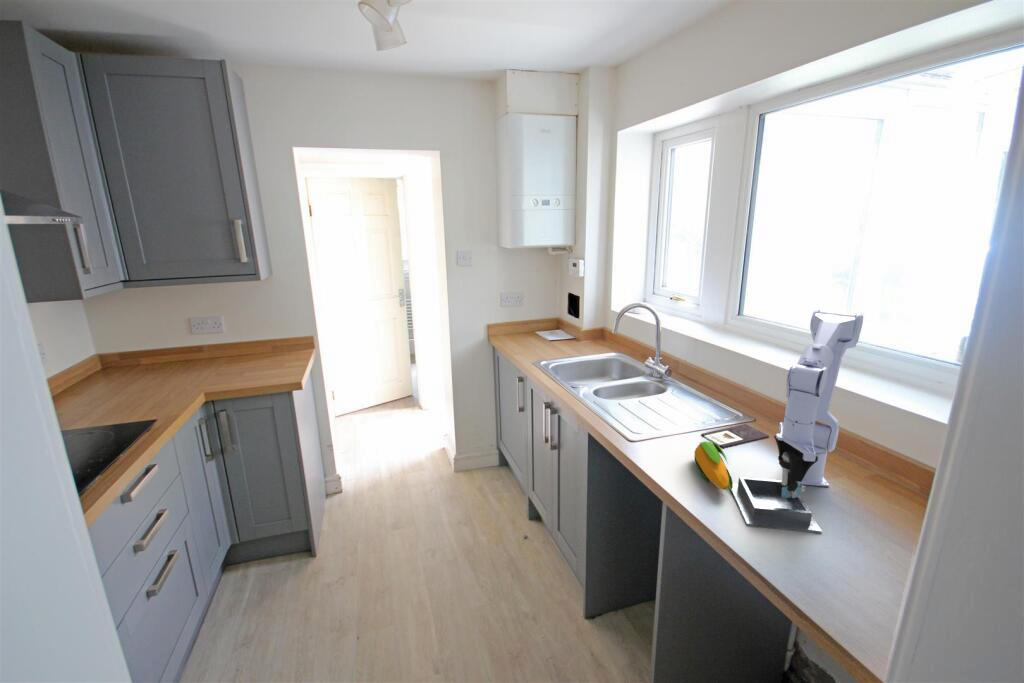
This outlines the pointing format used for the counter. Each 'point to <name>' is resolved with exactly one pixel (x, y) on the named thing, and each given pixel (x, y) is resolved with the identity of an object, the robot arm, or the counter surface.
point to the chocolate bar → (734, 436)
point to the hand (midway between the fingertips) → (790, 473)
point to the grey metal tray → (771, 506)
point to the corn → (713, 465)
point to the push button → (787, 480)
